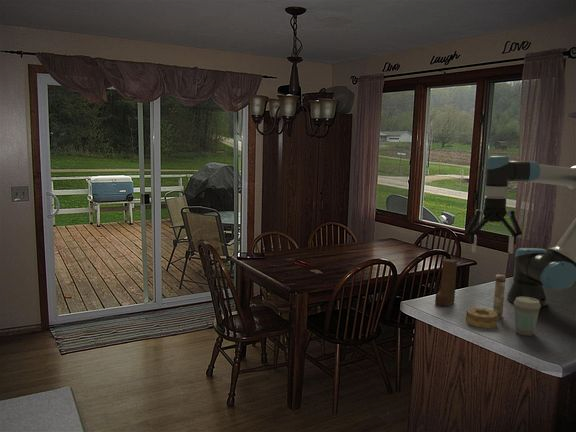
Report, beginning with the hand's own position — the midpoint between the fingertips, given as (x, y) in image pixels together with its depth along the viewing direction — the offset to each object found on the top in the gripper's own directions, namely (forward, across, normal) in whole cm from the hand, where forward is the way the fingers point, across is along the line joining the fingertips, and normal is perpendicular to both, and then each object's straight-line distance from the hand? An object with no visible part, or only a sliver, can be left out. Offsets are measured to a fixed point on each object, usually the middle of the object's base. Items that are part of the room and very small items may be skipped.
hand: (492, 252), depth 184 cm
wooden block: (+25, +14, -11) cm, 30 cm away
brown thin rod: (+25, +5, -1) cm, 25 cm away
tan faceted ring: (+24, +6, +10) cm, 27 cm away
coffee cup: (+25, -7, +18) cm, 31 cm away
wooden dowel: (+25, -3, +1) cm, 25 cm away
